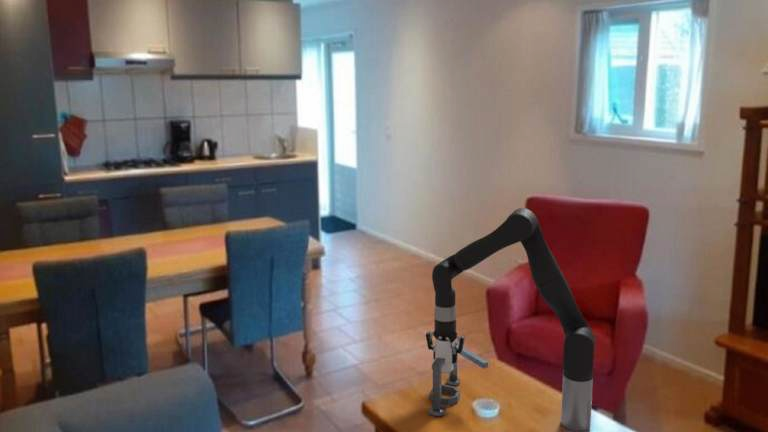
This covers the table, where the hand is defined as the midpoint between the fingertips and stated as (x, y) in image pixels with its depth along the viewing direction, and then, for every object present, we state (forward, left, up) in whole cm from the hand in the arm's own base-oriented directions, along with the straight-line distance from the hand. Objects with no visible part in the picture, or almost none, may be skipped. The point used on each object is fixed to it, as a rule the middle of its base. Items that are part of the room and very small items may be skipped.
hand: (445, 361), depth 220 cm
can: (0, 0, -3) cm, 3 cm away
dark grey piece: (0, +10, -14) cm, 18 cm away
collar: (0, 0, -14) cm, 14 cm away
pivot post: (0, -12, -14) cm, 19 cm away
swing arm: (-6, -7, 0) cm, 9 cm away
